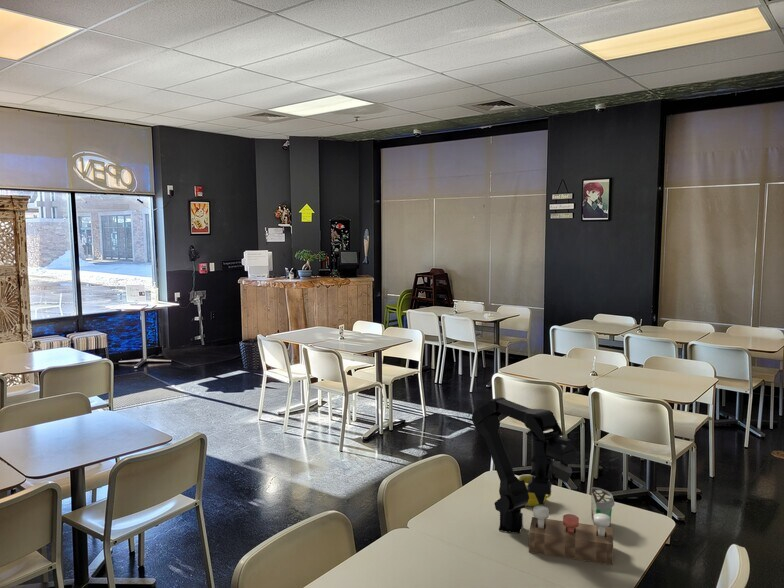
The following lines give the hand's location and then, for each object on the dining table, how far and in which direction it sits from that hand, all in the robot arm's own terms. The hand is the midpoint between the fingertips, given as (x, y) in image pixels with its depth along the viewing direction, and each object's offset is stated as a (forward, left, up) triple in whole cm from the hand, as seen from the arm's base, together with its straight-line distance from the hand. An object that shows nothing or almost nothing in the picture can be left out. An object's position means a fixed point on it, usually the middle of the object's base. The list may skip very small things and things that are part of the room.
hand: (541, 504), depth 173 cm
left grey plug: (0, 0, -9) cm, 9 cm away
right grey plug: (+17, 0, -9) cm, 19 cm away
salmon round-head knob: (+9, 0, -11) cm, 14 cm away
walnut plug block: (+9, 0, -13) cm, 15 cm away
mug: (-5, +29, -13) cm, 32 cm away
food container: (+18, +18, -13) cm, 28 cm away
